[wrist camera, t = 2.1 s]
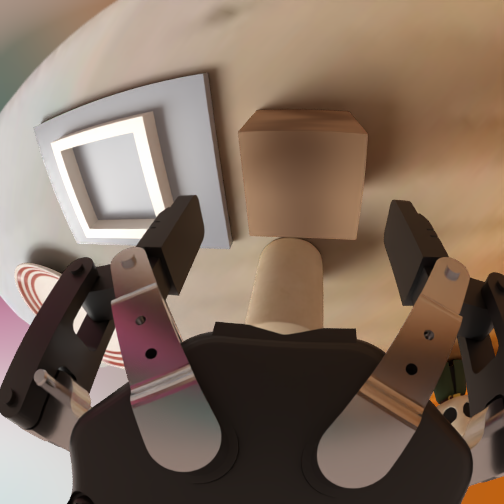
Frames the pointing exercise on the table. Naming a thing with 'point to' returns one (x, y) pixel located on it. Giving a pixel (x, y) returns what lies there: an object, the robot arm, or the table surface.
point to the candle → (288, 288)
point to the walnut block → (303, 173)
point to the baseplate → (137, 161)
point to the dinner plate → (37, 290)
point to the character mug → (453, 396)
